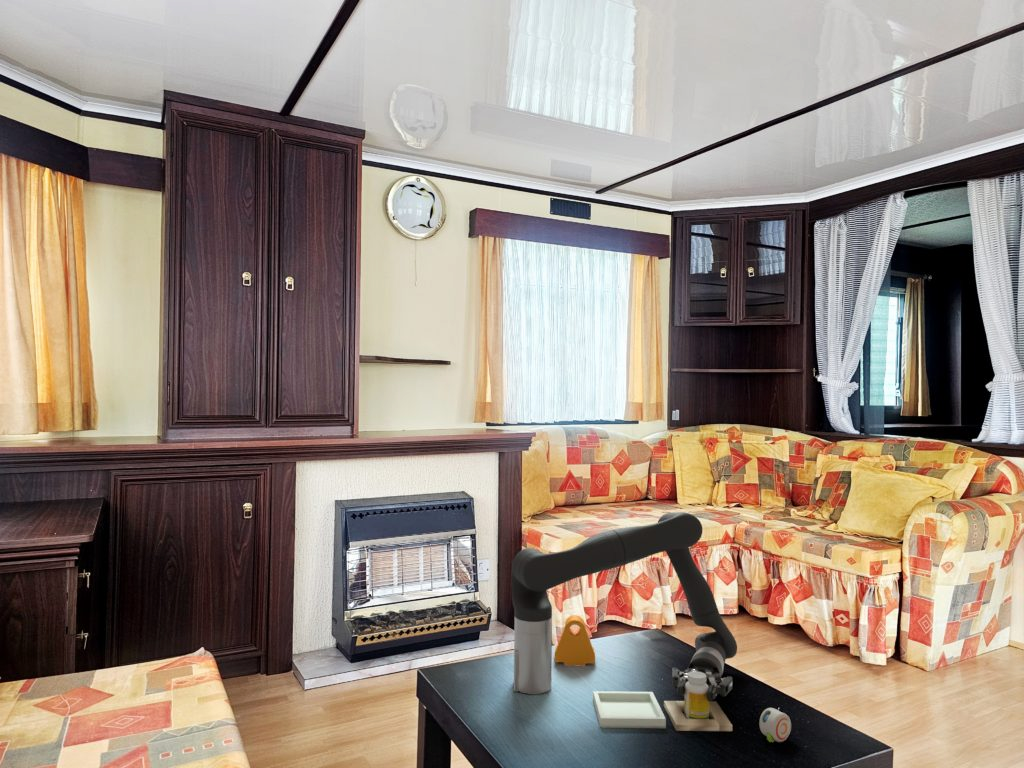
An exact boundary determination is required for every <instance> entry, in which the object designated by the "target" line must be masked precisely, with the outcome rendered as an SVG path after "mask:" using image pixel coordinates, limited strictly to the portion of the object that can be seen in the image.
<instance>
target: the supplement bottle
mask: <svg viewBox="0 0 1024 768" xmlns="http://www.w3.org/2000/svg"><path fill="white" fill-rule="evenodd" d="M708 688H709V686H708V685H707V684H706V674H704V673H702V672H698V671H692V672H689V673H688V682H686V683H685V687H684V695H683V697H684V698H683V699H684V700H683V701H684V713H683V714H684V716H685V718H686V719H710V716H709V701H708V700H707V692H708Z"/></svg>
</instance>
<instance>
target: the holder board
mask: <svg viewBox="0 0 1024 768" xmlns="http://www.w3.org/2000/svg"><path fill="white" fill-rule="evenodd" d="M663 707H664V710H665V711H666V713H667V716H669V717H668V718H669V719H670V721H671V723H672V726H673V727H674V729H675V731H677V732H679V731H681V732H682V731H683V732H684V731H685V732H687V731H689V732H691V731H692V732H694V731H695V732H733V724H732V723H731V721H730V720H729V718H728V716H727V715H726V714H725V713H724V711H723V710H722V708H721V706H720V705H719V704H718V702H717V701H716V700H714V701H713V700H711V701H709V719H686V718H685V716H684V713H683V712H684V700H663Z"/></svg>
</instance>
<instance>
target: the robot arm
mask: <svg viewBox="0 0 1024 768" xmlns="http://www.w3.org/2000/svg"><path fill="white" fill-rule="evenodd" d="M703 529H704V528H703V525H702V523H701V521H700V519H699V518H697V516H696V515H694V514H691V513H689V512H667V513H664V514H662V516H660V517H659V519H658V521H657V522H655V523H651V524H647V525H639V526H625V527H621V528H620V527H619V528H615V529H610V530H606V531H602V532H598V533H596V534H593V535H591V536H590V537H587V538H586V539H585V540H583V541H582V542H581V543H579V544H578V545H576V546H574V547H572V548H570V549H566V550H562V551H561V550H560V551H557V552H550V553H545V552H542V551H540V550H538V549H536V548H534V547H532V548H531V547H527V548H524V549H522V550H520V551H518V552H517V554H516V555H515V556H514V559H513V561H512V564H511V565H512V566H511V575H510V576H511V601H512V605H513V608H514V609H513V610H514V628H513V629H514V633H513V634H514V635H513V636H514V639H513V641H514V642H513V692H518V691H520V692H519V693H523V694H526V693H527V694H528V695H539V694H544V693H547V692H549V691H550V690H551V689H552V679H553V678H552V665H553V664H552V663H553V662H552V659H553V658H552V654H553V651H552V648H553V642H552V641H553V639H552V638H553V632H552V631H553V630H552V629H553V606H552V604H551V602H550V599H549V597H548V592H547V591H548V590H550V589H553V588H555V587H557V586H560V585H562V584H564V583H566V582H569V581H572V580H575V579H577V578H581V577H584V576H590V575H593V574H596V573H600V572H603V571H608V570H611V569H616V568H620V567H623V566H625V565H628V564H632V563H634V562H637V561H641V560H643V559H646V558H648V557H650V556H654V555H656V554H659V553H662V552H666V554H667V557H668V559H669V561H670V563H671V565H672V567H673V569H674V571H675V575H676V576H677V578H678V580H679V583H680V585H681V588H682V590H683V593H684V596H685V599H686V603H687V606H688V608H689V612H690V615H691V618H692V620H693V623H694V624H695V625H696V626H697V627H698V626H699V627H706V628H707V627H708V628H711V629H713V631H711V632H710V631H709V632H703V633H700V634H699V635H697V636H696V637H695V640H694V648H695V651H696V652H695V653H694V655H693V656H692V658H691V660H690V662H689V664H688V665H687V669H684V670H683V671H680V669H679V668H677V667H672V669H671V673H672V674H671V675H672V677H671V679H672V680H671V681H672V682H671V684H672V685H671V686H672V688H674V689H676V693H677V694H679V696H680V697H684V687H685V683H686V682H688V673H689V672H692V671H698V672H702V673H704V674H706V684H707V685H708V686H709V688H708V692H707V700H708V701H713V700H715V699H716V697H717V695H720V696H721V697H726V696H727V695H728V694H729V693H730V692H731V691H732V690H733V677H732V676H726V677H723V678H722V676H723V674H724V666H725V664H726V660H728V659H732V658H734V657H736V655H737V653H738V644H737V641H736V638H735V637H734V636H733V634H732V632H731V631H730V629H729V628H728V626H727V624H726V622H725V621H724V620H723V618H722V616H721V614H720V612H719V608H718V605H717V602H716V599H715V597H714V593H713V591H712V589H711V587H710V585H709V583H708V581H707V580H706V578H705V577H704V575H703V573H702V572H701V571H700V569H699V568H698V566H697V564H696V561H694V559H693V556H692V554H691V552H690V549H689V548H691V547H693V546H695V545H696V544H698V542H699V541H700V539H701V538H702V535H703ZM527 694H526V695H527Z"/></svg>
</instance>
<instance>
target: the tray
mask: <svg viewBox="0 0 1024 768" xmlns="http://www.w3.org/2000/svg"><path fill="white" fill-rule="evenodd" d="M592 701H593V704H594V705H593V706H594V708H595V712H596V716H597V721H598V722H599V726H600V728H601V729H602V728H603V729H604V728H605V729H606V728H607V729H667V718H666V716H665V715H664V714H665V713H663V710H662V708H661V706H660V704H659V702H658V700H657V698H656V696H655V694H654V692H653V691H617V690H616V691H614V690H613V691H609V690H608V691H607V690H605V691H602V690H597V691H595V690H593V691H592Z"/></svg>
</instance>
